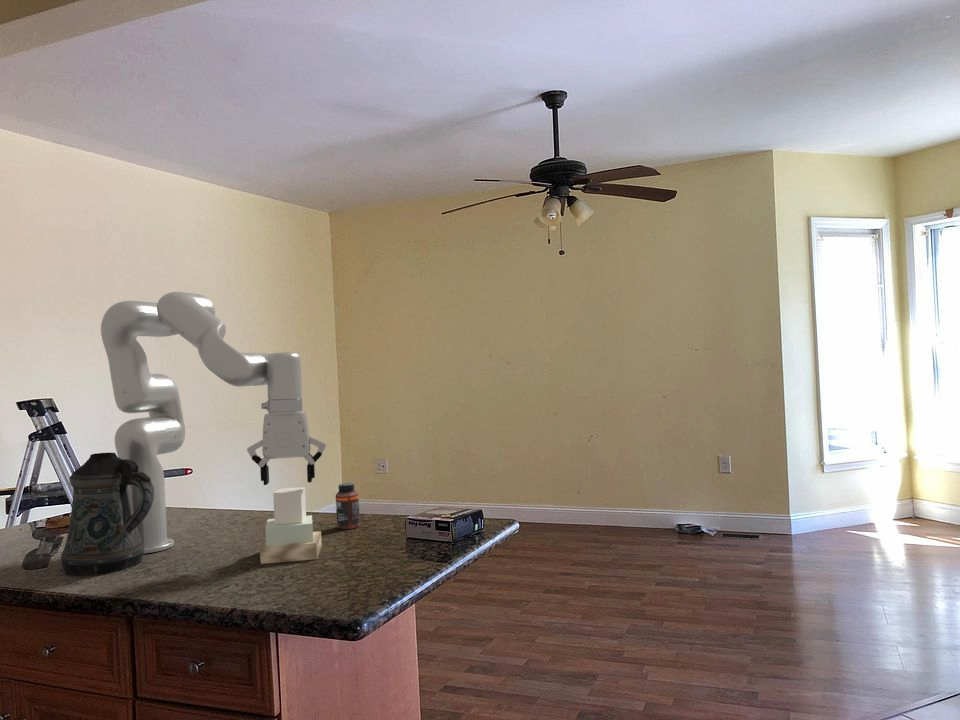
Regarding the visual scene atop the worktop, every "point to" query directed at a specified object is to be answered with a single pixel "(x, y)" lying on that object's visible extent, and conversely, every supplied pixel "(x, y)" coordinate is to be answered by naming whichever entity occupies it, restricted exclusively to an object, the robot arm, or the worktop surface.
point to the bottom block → (291, 551)
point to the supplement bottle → (347, 507)
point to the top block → (289, 532)
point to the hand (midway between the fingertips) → (288, 482)
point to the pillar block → (289, 505)
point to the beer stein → (105, 516)
